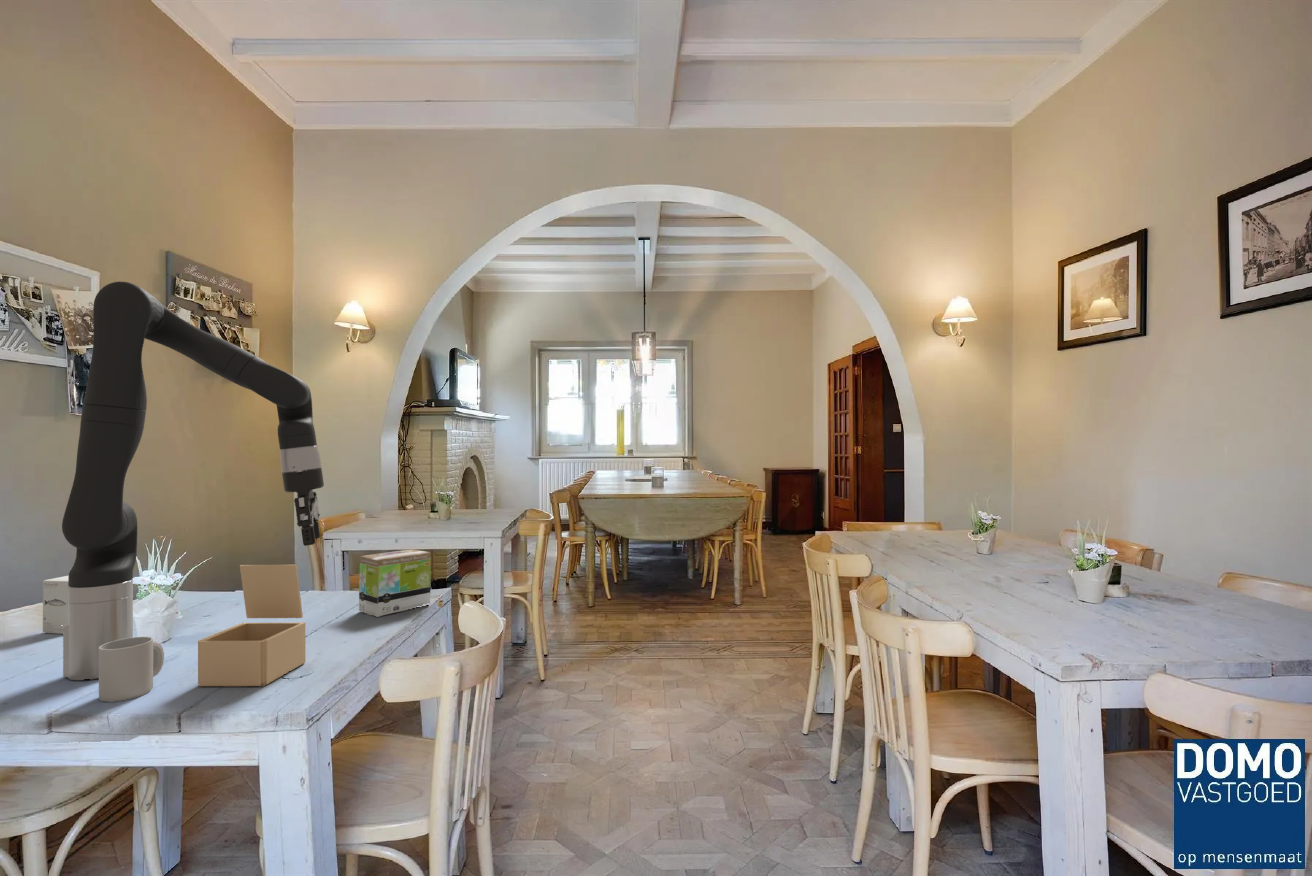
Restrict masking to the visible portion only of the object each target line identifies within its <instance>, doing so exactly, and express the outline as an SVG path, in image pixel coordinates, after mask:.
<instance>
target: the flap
mask: <svg viewBox="0 0 1312 876" xmlns="http://www.w3.org/2000/svg"><path fill="white" fill-rule="evenodd" d="M239 569H240V571H239V572H240V577H241V586H242V592H243V600H244V601H243V602H244V609H245V615H246V619H302V618H304V615H303V614H304V613H303V606H302V597H301V590H300V583H299V581H300V580H299V572H298V565H297V564H293V563H292V564H289V563H288V564H240V565H239Z"/></svg>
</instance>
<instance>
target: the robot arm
mask: <svg viewBox="0 0 1312 876" xmlns="http://www.w3.org/2000/svg"><path fill="white" fill-rule="evenodd" d="M92 309H93V311H92V312H93V315H92V316H93V320H92V321H93V322H92V323H93V325H92V326H93V328H92V329H93V335H92V336H93V337H92V338H93V339H92V340H93V341H92V345H93V346H92V353H91V360H90V364H89V369H88V375H87V379H86V380H87V381H86V387H85V393H84V398H83V403H82V404H83V405H82V410H81V416H80V425H79V426H80V427H79V437H78V444H77V453H76V461H75V462H76V465H75V473H74V478H73V482H72V486H71V490H70V493H69V497H68V500H67V504H66V506H65V509H64V514H63V517H62V523H61V532H62V534H63V537H64V538H65V540H66V542H67V543H68V544H70V545H71V546H72V547H73V548H74V547H75V548H76V553H75V559H74V563H73V565H72V567H71V569H70V570H69V573H68V576H69V577H68V586H69V588H68V602H69V625H67V626H65V627H64V628H63V635H62V636H63V637H62V640H63V641H62V648H63V649H62V650H63V651H62V677H63V678H67V679H68V680H71V681H85V680H84V679H90V680H95V679H99V647H100V646H101V645H103V644H106V643H109V642H112V641H116V640H121V639H126V638H133V637H134V579H133V578H134V568H135V565H136V562H137V555H138V553H137V552H138V551H137V550H138V549H137V548H138V517H137V514H136V512H135V510H134V508H133V507H132V506H131V505H130V504H128V502H125V501H124V486H125V481H126V475H127V472H128V469H129V467H130V465H131V463H132V460H133V458H134V457H135V454H136V452H137V450H138V447H139V445H140V443H141V440H142V437H143V434H144V429H145V421H146V420H145V419H146V414H147V405H148V404H147V402H148V398H147V397H148V396H147V388H146V387H147V386H146V381H145V377H144V371H143V363H142V362H143V361H142V358H143V357H142V356H143V349H144V343H145V340H148V341H151V342H154V343H157V344H160V345H162V346H164V347H167V348H169V349H171V350H173V351H175V352H177V353H179V354H182V355H183V356H186V357H187V358H189V359H191V360H192V361H193V362H196V363H197V364H198V365H200V366H202V367H203V368H206V369H207V370H209V371H210V372H213V373H214V374H216V375H218V376H220V377H222V378H224V379H226V380H227V381H230V382H232V383H233V384H235V385H238V386H240V387H242V388H244V389H248V390H251V392H254V393H255V394H257V395H258V396H260V397H262V398H263V399H264V400H265V399H266V400H268V401H269V402H271V403H272V404H275V405H276V411H277V416H278V422H279V423H278V425H277V437H278V438H277V439H278V444H279V458H280V459H279V461H280V468H281V475H282V476H281V477H282V482H283V483H282V485H283V489H284V492H286V493H296V494H297V496H296V497H295V498H294V500H293V501H294V502H293V503H294V506H295V513H296V520H297V522H296V525H297V526H298V528H299V529H301V537H302V544H303V546H305V547H308V546H313V545H314V544H316V540H317V539H320V537H321V532H320V526H319V525H320V524H319V521H320V514H321V513H320V507H319V500H318V499H319V498H318V496H317V495H318V494H317V492H316V491H314V490H316V489H318V490H319V489H322V488H323V487H324V485H325V483H324V476H323V475H324V474H323V470H322V469H323V468H322V461H321V455H320V452H319V449H318V444H317V442H318V441H317V437H316V431H315V425H314V422H313V421H314V420H313V419H314V416H313V413H314V412H313V398H312V393H311V389H310V387H309V385H308V384H307V383H306V382H304V380H302V379H301V378H299V377H298V376H295V375H293V374H292V373H289V372H286V371H285V370H282V369H281V368H278V367H276V366H274V365H271V364H269V363H268V362H267V361H265V360H264V359H262V358H260V357H258V355H257V356H256V355H255V354H253V353H251V352H249V351H247V350H245V349H244V348H241V347H239V346H238V345H236V344H234V343H232V342H229V341H227V340H225V339H224V338H221V337H219V336H216V335H214V334H211V333H209V332H207V331H204V330H202V329H201V328H199V327H197V326H195V325H194V324H192V323H190V322H188V321H186V320H185V319H183V318H181V317H180V316H179V315H177V314H176V313H174V312H173V311H172V310H170V309H169V308H167V307H166V306H165V305H163V304H162V303H161V302H160V301H159V300H158V299H157V298H156V297H155V296H154V295H153V294H151V293H149V291H147V290H146V289H143V288H142V287H140V286H138V285H136V284H135V283H132V282H129V281H113V282H111V283H108V284H106V285H104V286H103V287H102V288H101V289H100V290H99V291H98V292H97V293H96V295H95V297H94V301H93V308H92ZM130 580H131V582H130Z"/></svg>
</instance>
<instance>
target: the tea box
mask: <svg viewBox="0 0 1312 876" xmlns="http://www.w3.org/2000/svg"><path fill="white" fill-rule="evenodd" d="M431 556H432V553H431V552H430V551H424V550H419V549H411V548H410V549H404V550H403V549H402V550H395V551H390V552H381V553H374V554H367V555H365V554H364V555H360V556H359V576H358V577H359V578H358V580H359V582H358V584H359V585H358V586H359V587H358V588H359V589H358V611H359V612H360V613H363V612H364V613H363V614H366V613H367V614H366V615H368V616H369V615H370V616H372V615H374V616H373V617H375V616H376V618H379V617H383V616H387V615H390V614H395V613H399V612H404V611H408V609H410V610H413V609H412V608H415V607H417V606H422V605H423V604H427V603H430V604H431V590H432V589H431V588H432V587H431V582H432V581H431V570H432V569H431V567H432V563H431V562H432V558H431ZM415 609H416V608H415Z"/></svg>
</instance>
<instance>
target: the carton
mask: <svg viewBox="0 0 1312 876" xmlns="http://www.w3.org/2000/svg"><path fill="white" fill-rule="evenodd" d="M303 663H304V664H305V663H306V622H298V621H297V622H241V623H239V624H236V625H234V626H231V627H228V628H226V629H223V630H221V631H218V632H216V633H214V634H210V635H209V636H205V637H204V638H203V637H202V638H201V639H199V640H198V641H197V684H198V687H200V688H202V687H204V688H205V687H210V688H211V687H212V688H213V687H219V688H220V687H223V688H224V687H235V688H236V687H237V688H238V687H243V688H244V687H245V688H246V687H247V686H257V688H259V687H261V688H263V687H266V686H267V685H269V684H271V683H272V682H274V681H276V680H278V679H279V678H281V677H282V676H284V674H285V675H286V674H288V673H290V672H291V671H293V670H295V669H297V668H299V667H300V666H301V665H303ZM289 671H290V672H289Z"/></svg>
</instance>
